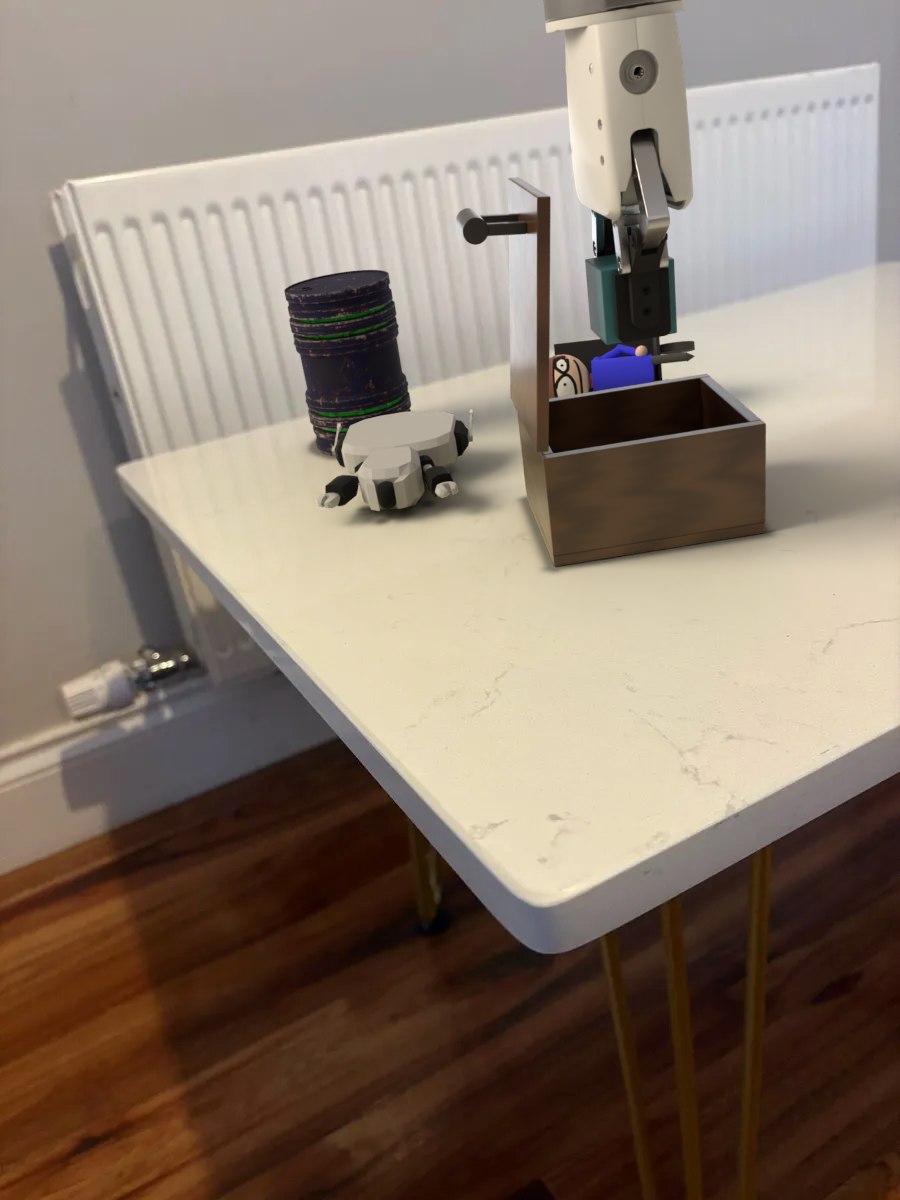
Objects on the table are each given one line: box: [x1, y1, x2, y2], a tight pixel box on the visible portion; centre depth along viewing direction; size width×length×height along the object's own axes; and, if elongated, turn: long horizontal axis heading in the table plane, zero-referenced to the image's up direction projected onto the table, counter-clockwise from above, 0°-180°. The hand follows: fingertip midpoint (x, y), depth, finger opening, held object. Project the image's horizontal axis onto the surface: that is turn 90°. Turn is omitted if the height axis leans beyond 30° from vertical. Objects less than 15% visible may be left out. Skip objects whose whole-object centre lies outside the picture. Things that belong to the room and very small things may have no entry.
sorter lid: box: [455, 176, 552, 452], centre depth 68 cm, size 15×13×5 cm
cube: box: [584, 254, 678, 345], centre depth 63 cm, size 4×4×4 cm
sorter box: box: [516, 373, 767, 567], centre depth 74 cm, size 15×13×8 cm
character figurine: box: [549, 337, 696, 399], centre depth 94 cm, size 8×7×15 cm
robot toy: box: [316, 408, 474, 512], centre depth 86 cm, size 12×4×15 cm
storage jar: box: [283, 269, 412, 456], centre depth 97 cm, size 10×10×15 cm
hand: (632, 325), depth 64 cm, fingers closed on cube, 4 cm apart
